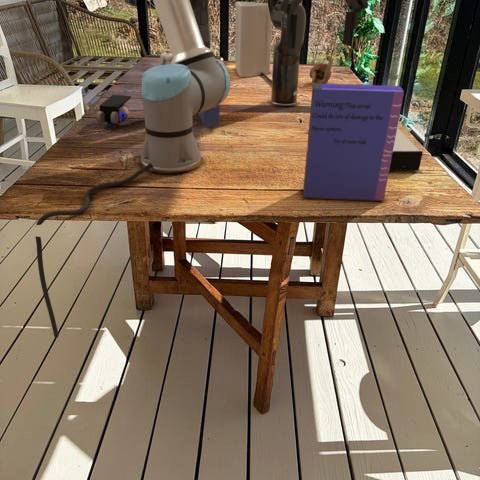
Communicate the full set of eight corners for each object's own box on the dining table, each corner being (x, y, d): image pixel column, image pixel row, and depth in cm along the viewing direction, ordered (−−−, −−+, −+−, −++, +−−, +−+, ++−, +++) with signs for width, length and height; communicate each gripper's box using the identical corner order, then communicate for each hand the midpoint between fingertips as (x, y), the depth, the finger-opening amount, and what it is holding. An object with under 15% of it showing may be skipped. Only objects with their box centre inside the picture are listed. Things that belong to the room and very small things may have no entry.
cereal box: (379, 191, 109) (398, 84, 97) (383, 201, 105) (404, 90, 93) (303, 188, 110) (312, 82, 98) (304, 197, 106) (314, 88, 94)
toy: (179, 75, 210) (178, 59, 206) (155, 65, 227) (154, 49, 224) (226, 69, 222) (226, 53, 218) (199, 60, 239) (199, 45, 235)
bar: (219, 126, 145) (219, 96, 140) (204, 126, 144) (203, 97, 139) (206, 102, 167) (205, 76, 162) (192, 103, 166) (191, 77, 161)
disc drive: (349, 170, 120) (352, 151, 117) (332, 140, 139) (334, 123, 137) (418, 171, 120) (423, 152, 118) (392, 140, 140) (395, 124, 137)
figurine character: (119, 135, 145) (134, 115, 156) (115, 111, 140) (131, 93, 152) (98, 134, 145) (114, 114, 157) (93, 110, 141) (110, 92, 152)
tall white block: (273, 76, 210) (276, 6, 196) (239, 77, 209) (240, 6, 194) (266, 67, 226) (268, 2, 212) (235, 67, 225) (235, 1, 210)
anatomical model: (319, 90, 206) (319, 91, 192) (304, 75, 205) (303, 75, 191) (340, 67, 202) (342, 66, 188) (325, 52, 201) (326, 50, 187)
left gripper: (375, -69, 99) (360, 41, 110) (263, -73, 92) (259, 45, 103) (396, -70, 93) (378, 46, 104) (278, -74, 86) (272, 51, 97)
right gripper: (218, 36, 157) (219, 89, 166) (175, 37, 154) (178, 91, 163) (222, 40, 151) (223, 94, 160) (177, 41, 148) (180, 96, 157)
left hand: (319, 46), depth 103 cm, fingers open, 13 cm apart
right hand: (200, 92), depth 161 cm, fingers closed on bar, 4 cm apart
